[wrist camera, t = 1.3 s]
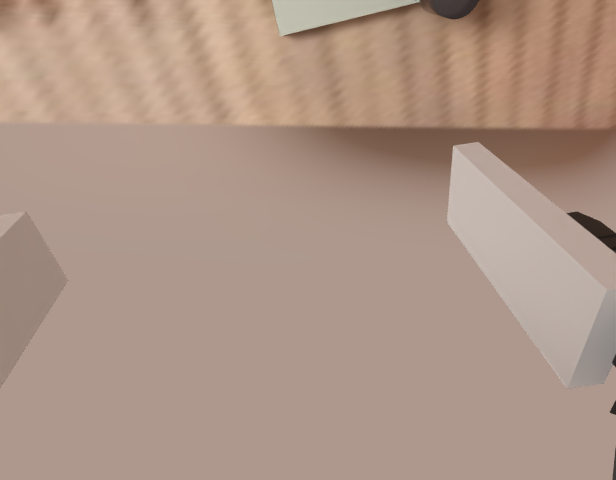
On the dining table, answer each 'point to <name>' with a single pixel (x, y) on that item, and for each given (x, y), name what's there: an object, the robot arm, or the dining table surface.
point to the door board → (326, 12)
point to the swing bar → (449, 7)
